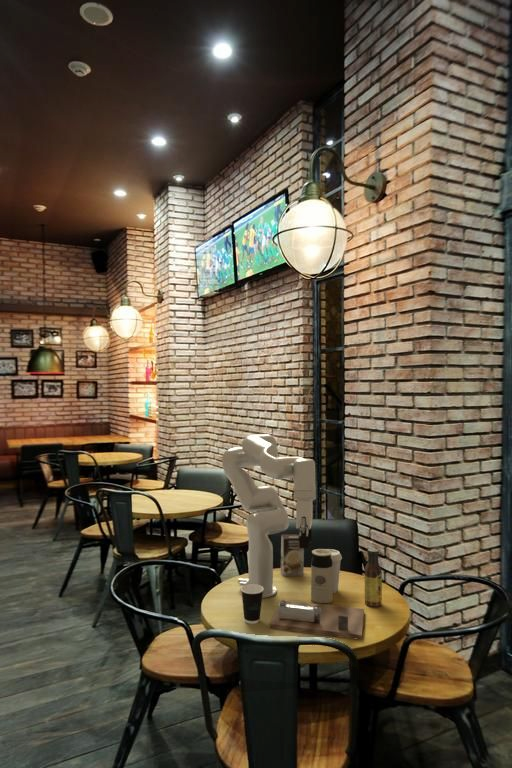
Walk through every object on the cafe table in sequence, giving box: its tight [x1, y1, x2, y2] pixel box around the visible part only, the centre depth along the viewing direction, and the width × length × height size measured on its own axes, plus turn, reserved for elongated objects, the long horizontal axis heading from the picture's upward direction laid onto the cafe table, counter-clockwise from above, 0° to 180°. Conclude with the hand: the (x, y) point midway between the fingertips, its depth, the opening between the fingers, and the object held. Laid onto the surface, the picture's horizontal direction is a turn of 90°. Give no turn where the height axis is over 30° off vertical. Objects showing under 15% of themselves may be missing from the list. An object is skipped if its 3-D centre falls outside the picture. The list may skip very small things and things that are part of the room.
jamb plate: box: [268, 599, 365, 640], centre depth 174 cm, size 30×20×6 cm, turn 76°
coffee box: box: [280, 534, 305, 577], centre depth 220 cm, size 9×6×16 cm
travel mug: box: [310, 548, 333, 604], centre depth 192 cm, size 8×8×18 cm
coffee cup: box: [325, 548, 343, 594], centre depth 201 cm, size 10×10×15 cm
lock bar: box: [279, 600, 320, 623], centre depth 171 cm, size 14×2×5 cm, turn 76°
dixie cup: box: [240, 584, 264, 625], centre depth 174 cm, size 8×8×11 cm
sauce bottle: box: [364, 548, 383, 608], centre depth 188 cm, size 7×6×20 cm
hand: (305, 544), depth 176 cm, fingers open, 9 cm apart
